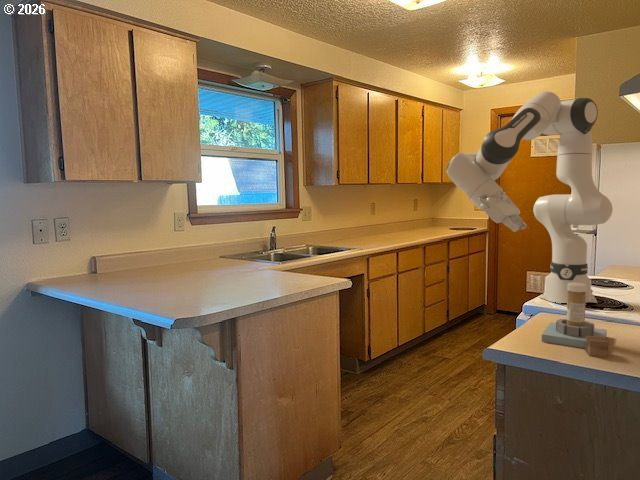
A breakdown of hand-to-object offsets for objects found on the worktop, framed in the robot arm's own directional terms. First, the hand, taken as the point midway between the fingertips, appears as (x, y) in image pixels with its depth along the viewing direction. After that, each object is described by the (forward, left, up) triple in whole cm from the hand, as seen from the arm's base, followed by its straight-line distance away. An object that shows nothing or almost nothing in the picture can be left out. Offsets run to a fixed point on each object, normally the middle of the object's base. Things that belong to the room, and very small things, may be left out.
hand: (521, 229), depth 136 cm
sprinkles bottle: (+4, +15, -28) cm, 32 cm away
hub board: (+4, +15, -29) cm, 33 cm away
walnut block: (+14, +21, -29) cm, 39 cm away
